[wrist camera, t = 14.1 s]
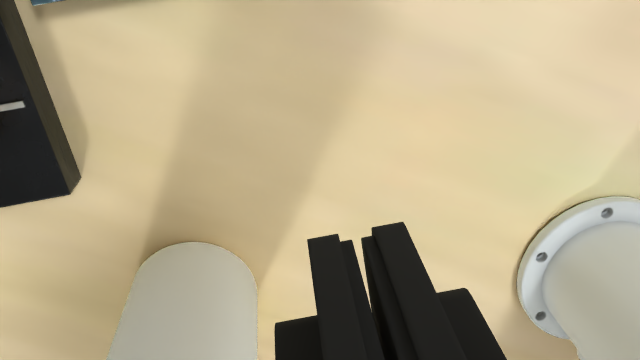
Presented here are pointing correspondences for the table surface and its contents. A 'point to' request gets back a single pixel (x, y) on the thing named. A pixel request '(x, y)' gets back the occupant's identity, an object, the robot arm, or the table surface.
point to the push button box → (43, 2)
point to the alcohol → (189, 307)
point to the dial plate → (28, 123)
